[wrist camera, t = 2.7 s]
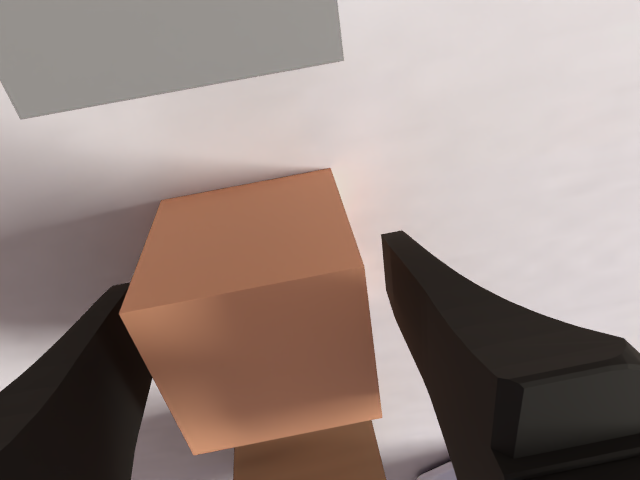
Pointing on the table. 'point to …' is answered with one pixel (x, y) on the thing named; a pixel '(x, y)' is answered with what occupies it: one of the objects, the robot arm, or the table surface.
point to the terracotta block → (255, 313)
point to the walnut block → (313, 456)
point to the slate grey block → (153, 47)
